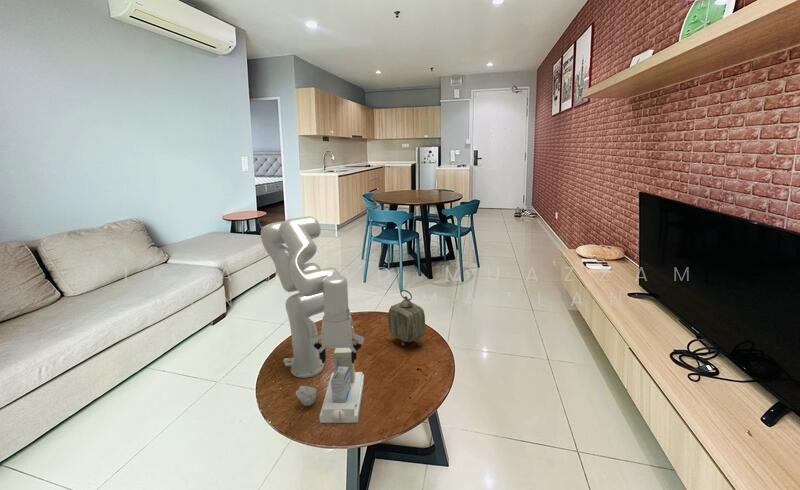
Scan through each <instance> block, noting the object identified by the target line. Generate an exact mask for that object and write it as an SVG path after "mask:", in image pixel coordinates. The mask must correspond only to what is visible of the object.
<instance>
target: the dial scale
mask: <svg viewBox="0 0 800 490" xmlns="http://www.w3.org/2000/svg"><path fill="white" fill-rule="evenodd" d="M331 373H332V374H331V375H330V379H329V382H328V385H327V389H326V392H325V396H324V399H323V402H322V403H323V404H322V406H321V410H320V412H319V413H320V414H319V424H330V423H331V424H336V423H338V424H339V423H340V424H341V423H343V424H344V423H347V424H348V423H350V424H351V423H359V418H360V417H359V416H360V412H361V411H360V410H361V403H362V397H363V390H364V384H365V383H364V382H365V374H363V372H362V371H355V379H354V382H351V383H350V385H351V389H350V391H349V394H348V397H347V400H346V403H335V402H333V400H332V389H331V379H332V377H333V375H334V373H335V371H334V372H331Z"/></svg>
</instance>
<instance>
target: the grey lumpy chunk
mask: <svg viewBox="0 0 800 490" xmlns="http://www.w3.org/2000/svg"><path fill="white" fill-rule="evenodd" d="M317 393H318V390H317V389H316V388H315V387H312V386H309V385H308V386H307V385H304V384H303V385H300V386H299V388H298V389H297V390H296V391H295V395H296V398H297V399H299V401H300V402H301V404H302V405H303V406H306V407H310V406H312V405H313V404H314V403H315V401H316V399H317Z"/></svg>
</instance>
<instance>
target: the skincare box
mask: <svg viewBox="0 0 800 490" xmlns="http://www.w3.org/2000/svg"><path fill="white" fill-rule="evenodd" d="M351 352H352V350H351V349H350V348H334V352H333V356H334V357H333V359H334V368H335V370H336V368H337V367H349V371H350V383H351V382H354V379H355V372H356V371H355V362H354V363H352V360H351Z"/></svg>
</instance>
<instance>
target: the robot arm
mask: <svg viewBox="0 0 800 490" xmlns="http://www.w3.org/2000/svg"><path fill="white" fill-rule="evenodd" d="M321 230H322V229H321V224H320V222H319V221H318V220H317V219H316V217H313V216H302V217H296V218H295V217H294V218H290V219H285V220H283V221H277V222H272V223H269V224H266V225H264V226H263V227H262V228H261V229H260V240H261V243H262V245H263V248H264V250H265V252H266V253H267V254H268V255H269V257H270V258H271V260H272V261H273V264H274V267H275V269H276V272H277V275H278V279H279V281H280V284H281V287H282V288H283V291H286V292H287V293H293V292H297V293H295V294H293V295H290V296H289V297H288V298H287V299H286V301H285V310H286V313H287V317H288V322H289V328H290V335H291V345H292V352H293V353H292V355H293V356H292V357H291V358H289V357H288V358H287V357H285V358H283V364H284V366H285V367H290V372H291V375H292V376H295V377H296V378H301V379H302V378H303V379H307V378H311V377H314V376H316V375H318V374H320V373H321V372H322V371H323V370H324V366H325V365H324V363H326V359H327V354H326V348H331V349H333V348H334V349H335V348H350V349H351V350H352V352H351V360H352V363H354V364H355V360H357V355H358V354H357V352H358V351H359V349H361V348H362V346H363V345H364V342H365V341H366V340H365V337H364V336H362V335H359V334H358V333H355V331H354V324H353V323H354V322H353V317H352V316H353V315H354V310H351V309H350V308H349V295H348V293H349V291H348V290H349V287H348V280H347V278H346V277H345V276H343V275H341V273H340V271H339V270H338V269H336V267H326V268H321V266H319V265H318V263H315V262H310V260H311V259H312V258H313V257H314V256H315V255H316V253H317V251H318V250H317V249H318V248H317V244H316V243H315V242H314V240H313V239H317V238H319V236H320V235H321ZM283 244H285V245H286V246H285V245H283ZM322 313H323V316H322V319H321V320H322V322H321V328H320V329H321V331H320V332H319V333H318V328H317V324H316V323H315V321H313V320H312V319H310V318H311V317H312V316H315V315H319V314H322ZM318 340H320V342H321V343H320V342H319V341H318ZM354 340H356V341H358V342H357V343H355V341H354Z"/></svg>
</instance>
